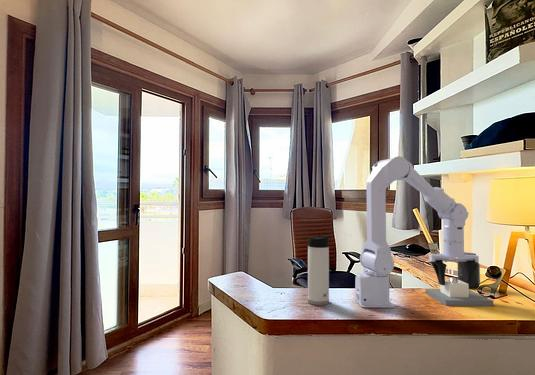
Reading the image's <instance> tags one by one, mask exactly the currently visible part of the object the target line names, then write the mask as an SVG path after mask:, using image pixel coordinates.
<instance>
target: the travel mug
mask: <svg viewBox="0 0 535 375" xmlns="http://www.w3.org/2000/svg"><path fill="white" fill-rule="evenodd" d="M330 238H331V236H330V235H329V234H326V235H316V236H312V237H311V236H310V237H308V239H307V240H308V241H307V243H308V245H307V302H308V303H309V304H311V305H314V306H326V305H329V302H330V301H329V300H330V297H329V296H330V293H329V292H330V289H329V288H330V250H329V248H330V246H329V239H330Z"/></svg>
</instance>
